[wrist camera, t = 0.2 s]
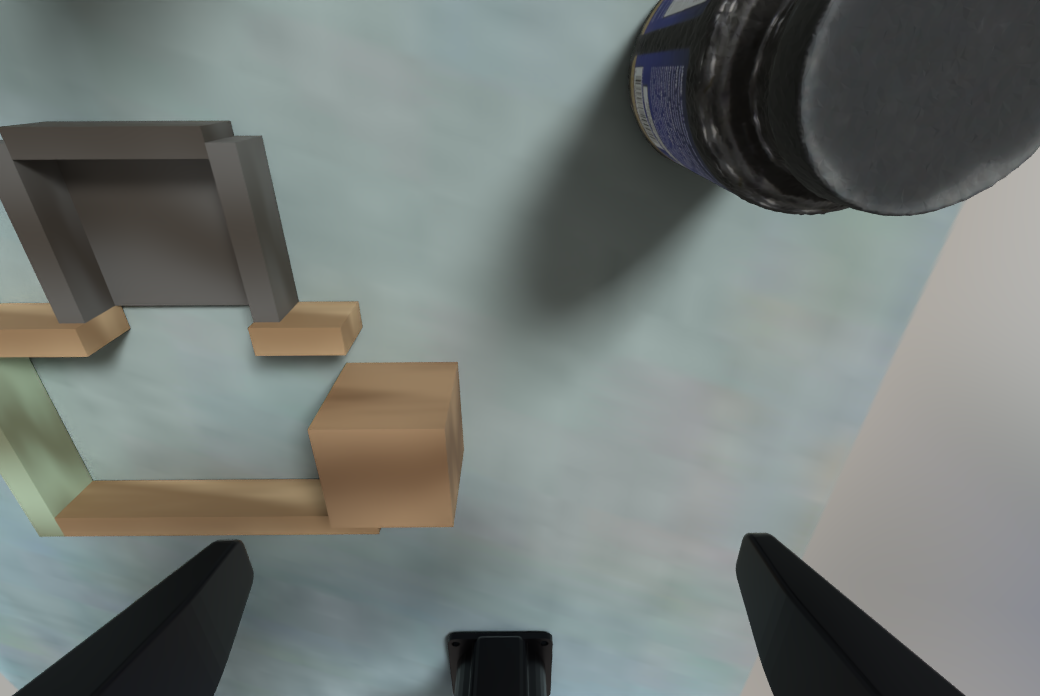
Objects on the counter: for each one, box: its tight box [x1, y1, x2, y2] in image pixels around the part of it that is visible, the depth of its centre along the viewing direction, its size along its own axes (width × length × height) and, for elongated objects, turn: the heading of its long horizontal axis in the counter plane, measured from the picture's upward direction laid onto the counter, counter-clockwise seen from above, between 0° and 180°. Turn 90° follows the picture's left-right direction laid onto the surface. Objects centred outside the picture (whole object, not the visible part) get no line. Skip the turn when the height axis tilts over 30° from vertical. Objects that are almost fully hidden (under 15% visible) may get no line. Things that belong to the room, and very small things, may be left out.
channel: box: [0, 121, 381, 537], centre depth 22 cm, size 18×16×2 cm
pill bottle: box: [628, 0, 1040, 216], centre depth 13 cm, size 6×6×11 cm
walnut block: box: [308, 362, 464, 528], centre depth 22 cm, size 5×5×5 cm
